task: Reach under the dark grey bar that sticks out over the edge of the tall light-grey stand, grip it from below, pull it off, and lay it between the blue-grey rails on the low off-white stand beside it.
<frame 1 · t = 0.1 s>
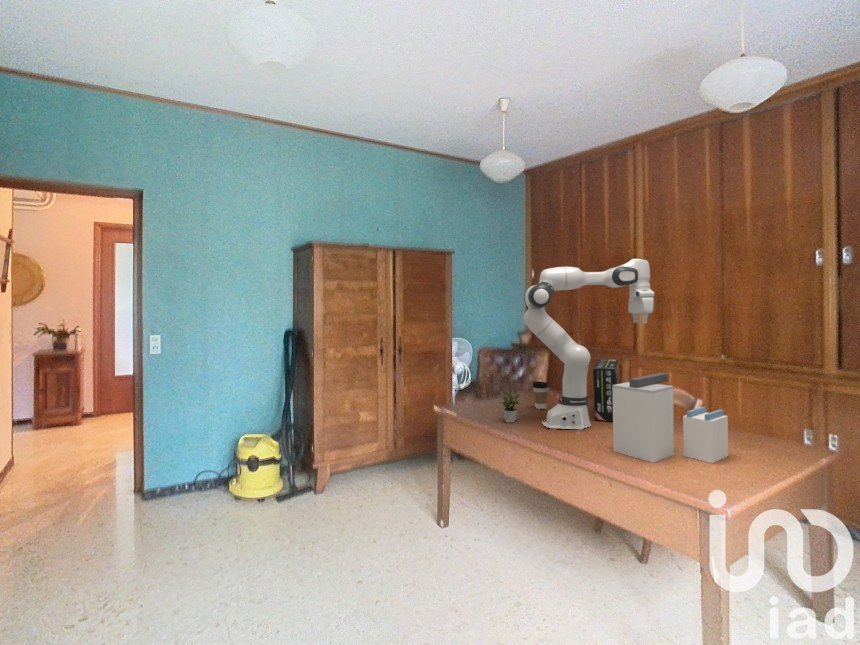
hand: (640, 323, 210), 48 cm above the table, tool pointing down, fingers open, 8 cm apart
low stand: (705, 456, 166), on the table
tall stand: (643, 453, 172), on the table
router box: (607, 414, 234), on the table
coffee cup: (540, 409, 249), on the table
house plant: (512, 422, 223), on the table
dark grey bar: (649, 384, 174), point 26 cm above the table, touching tall stand
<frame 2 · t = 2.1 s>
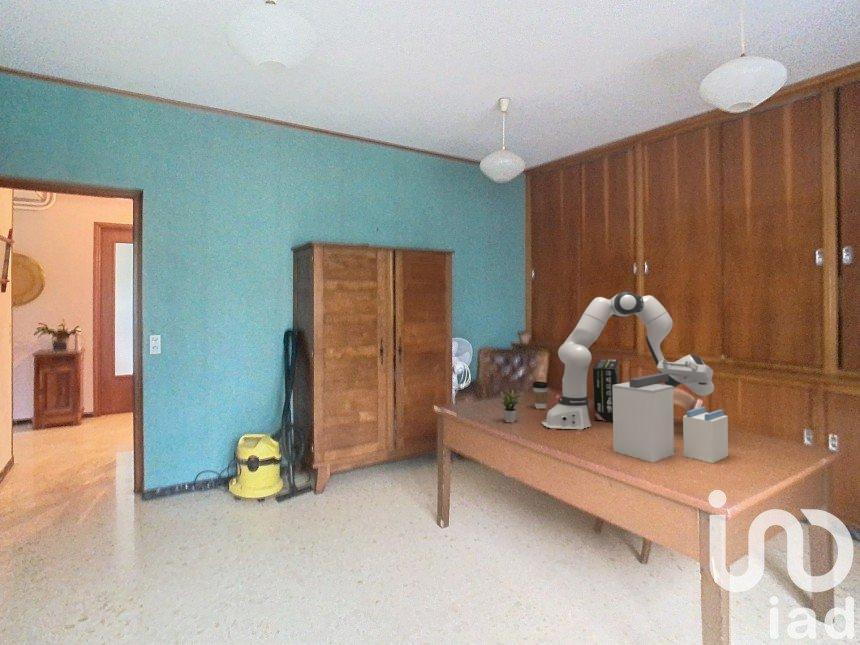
hand: (675, 362, 184), 33 cm above the table, tool pointing upward, fingers open, 8 cm apart
nothing on the table moved.
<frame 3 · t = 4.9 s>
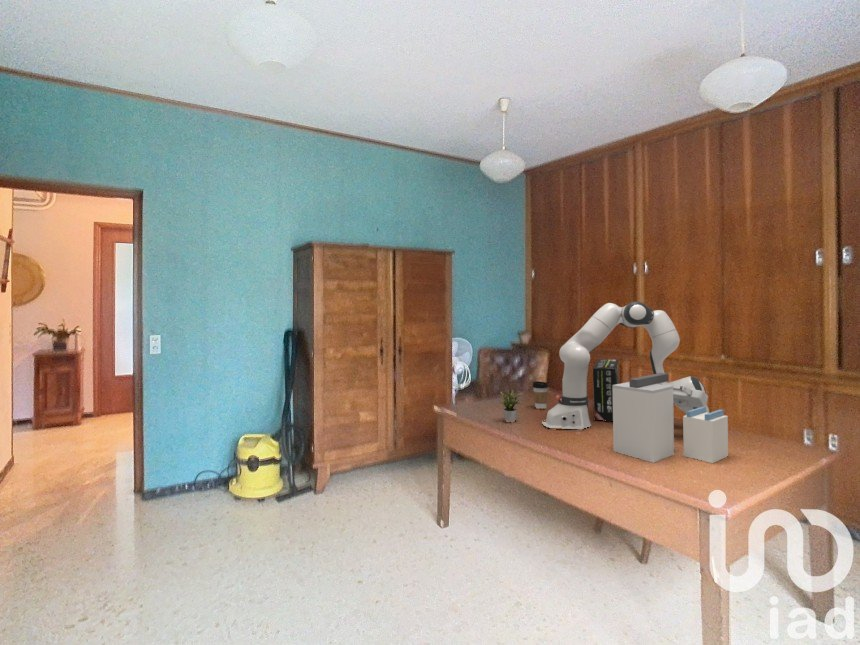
hand: (669, 386, 182), 23 cm above the table, tool pointing upward, fingers open, 8 cm apart
nothing on the table moved.
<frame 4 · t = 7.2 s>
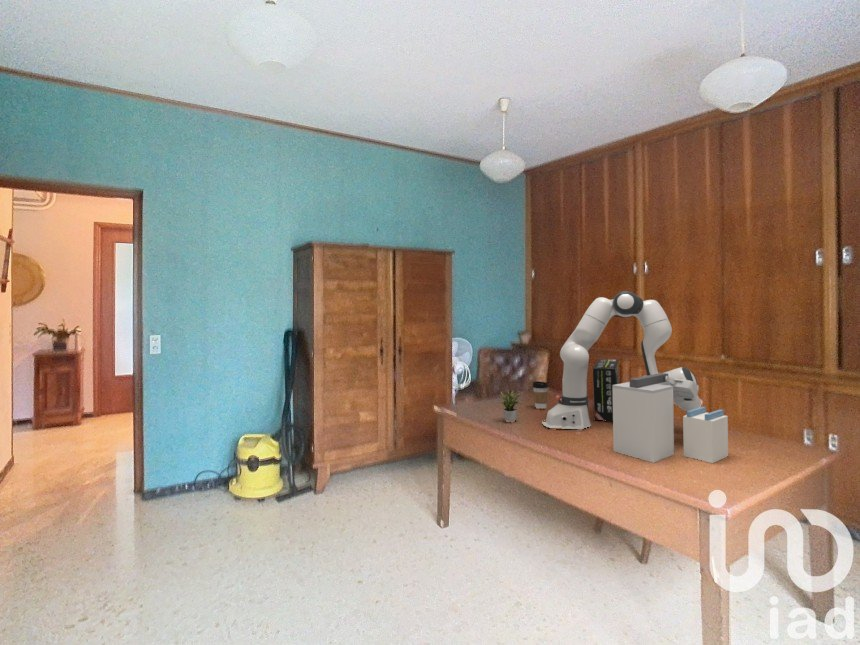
hand: (659, 376, 178), 28 cm above the table, tool pointing upward, fingers closed on dark grey bar, 3 cm apart
dark grey bar: (649, 384, 174), point 26 cm above the table, touching gripper, tall stand
everything else where it was.
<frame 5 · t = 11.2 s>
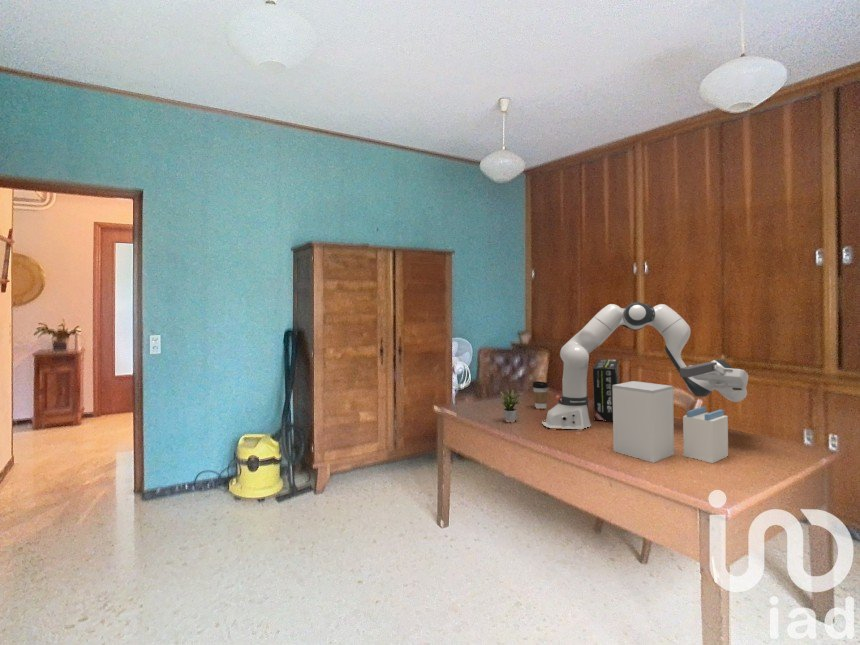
hand: (708, 366, 172), 32 cm above the table, tool pointing upward, fingers closed on dark grey bar, 3 cm apart
dark grey bar: (698, 373, 168), point 30 cm above the table, touching gripper
everything else where it was.
when the fingers open (18 cm above the table, at t = 15.2 s): dark grey bar drops 1 cm, resting on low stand.
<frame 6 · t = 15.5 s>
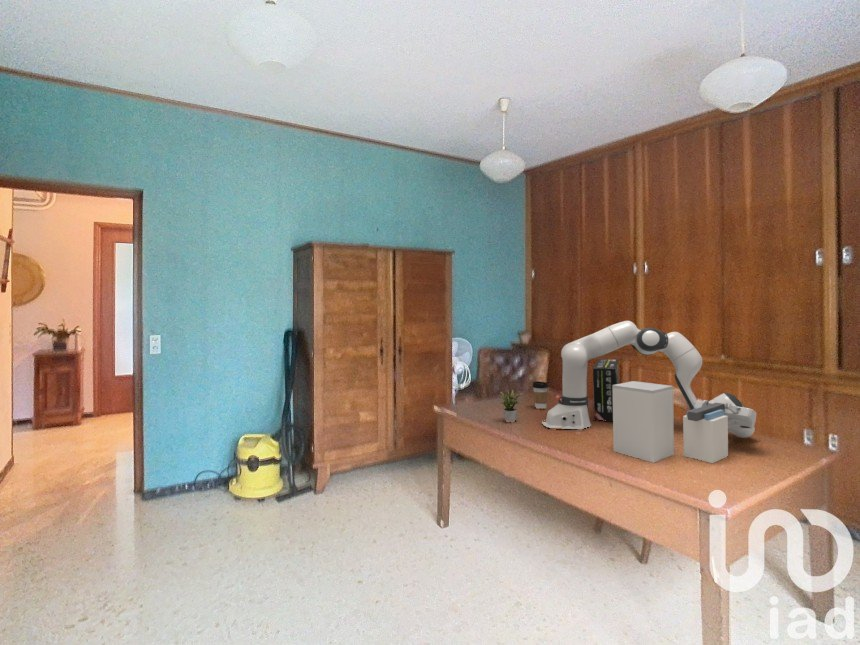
hand: (715, 403, 170), 18 cm above the table, tool pointing upward, fingers open, 6 cm apart
dark grey bar: (706, 415, 166), point 15 cm above the table, touching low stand
everything else where it was.
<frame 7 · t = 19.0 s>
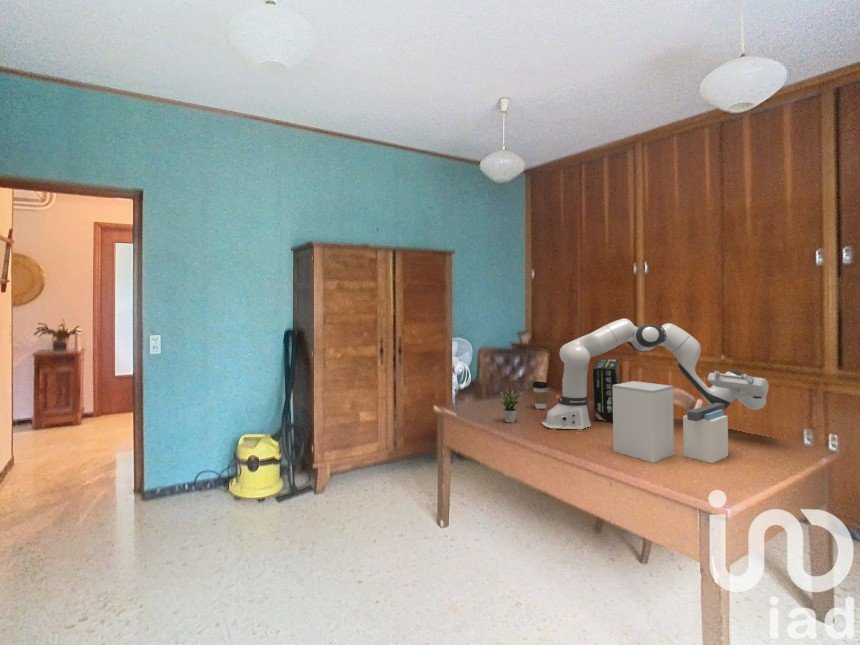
hand: (729, 374, 177), 28 cm above the table, tool pointing upward, fingers open, 8 cm apart
nothing on the table moved.
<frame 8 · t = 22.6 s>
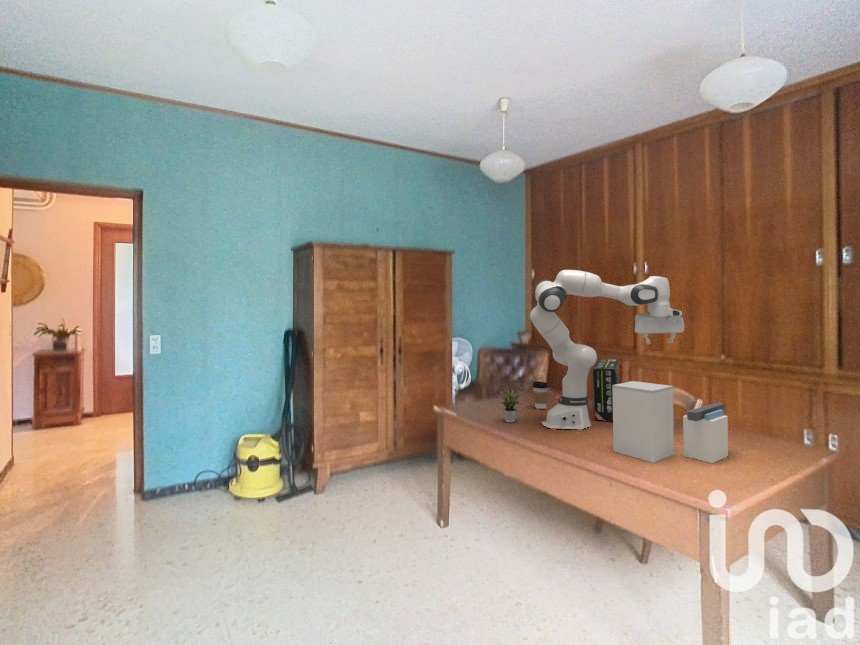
hand: (659, 343, 200), 39 cm above the table, tool pointing down, fingers open, 8 cm apart
nothing on the table moved.
at the end: dark grey bar inside the target area on the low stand (1.1 cm from its centre), point 15.0 cm above the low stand's base; dark grey bar touching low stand; the gripper is holding nothing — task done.
